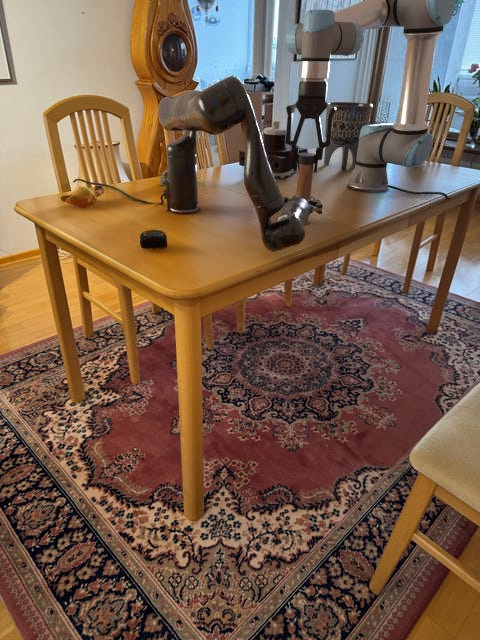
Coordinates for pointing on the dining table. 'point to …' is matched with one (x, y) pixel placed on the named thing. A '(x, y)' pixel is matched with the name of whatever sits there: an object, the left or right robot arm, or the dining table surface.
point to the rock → (164, 177)
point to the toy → (83, 196)
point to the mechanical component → (276, 151)
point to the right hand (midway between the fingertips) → (305, 170)
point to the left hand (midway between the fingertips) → (303, 198)
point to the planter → (346, 129)
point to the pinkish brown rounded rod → (304, 181)
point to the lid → (306, 158)
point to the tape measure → (153, 239)
